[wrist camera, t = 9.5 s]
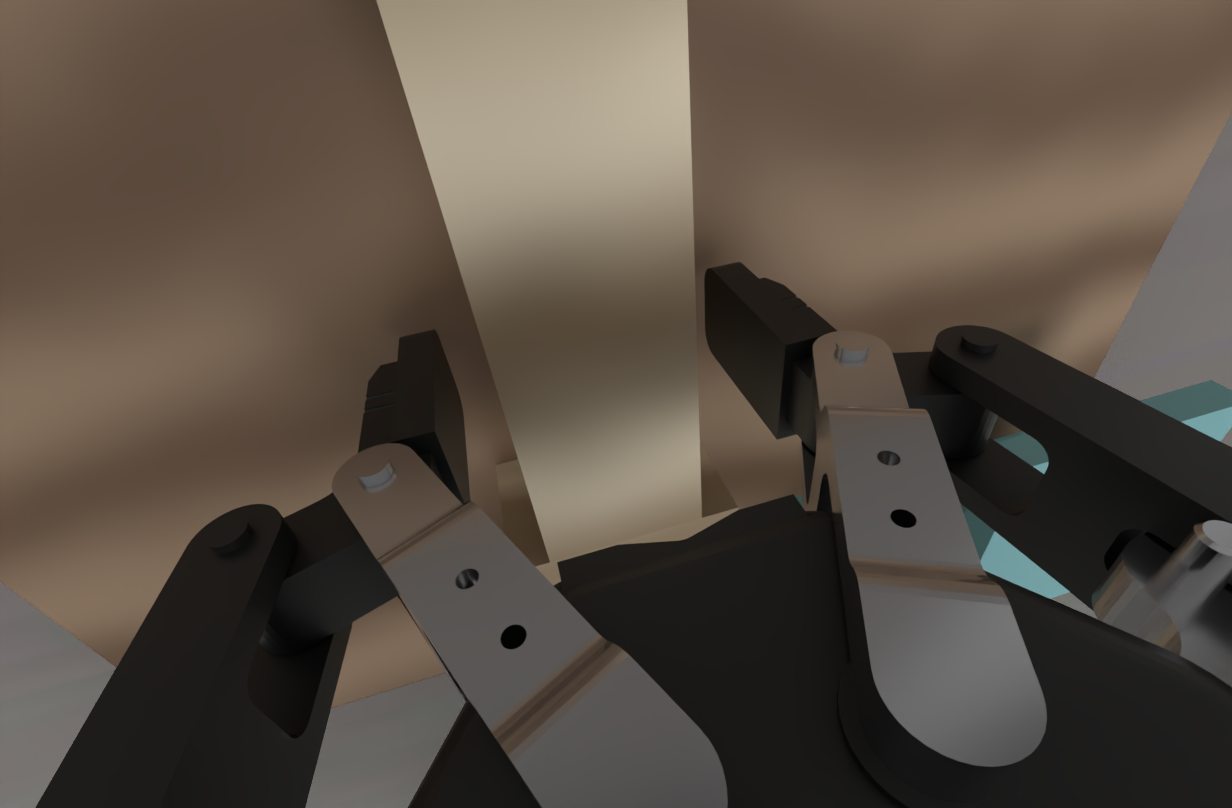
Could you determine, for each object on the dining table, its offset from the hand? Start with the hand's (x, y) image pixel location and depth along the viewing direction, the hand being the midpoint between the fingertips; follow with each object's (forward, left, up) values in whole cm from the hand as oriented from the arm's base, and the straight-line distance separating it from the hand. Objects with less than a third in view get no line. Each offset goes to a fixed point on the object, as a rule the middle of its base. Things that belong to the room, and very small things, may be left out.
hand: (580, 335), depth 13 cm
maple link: (0, 0, -2) cm, 2 cm away
